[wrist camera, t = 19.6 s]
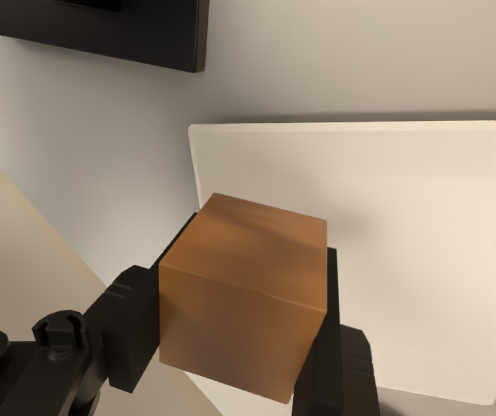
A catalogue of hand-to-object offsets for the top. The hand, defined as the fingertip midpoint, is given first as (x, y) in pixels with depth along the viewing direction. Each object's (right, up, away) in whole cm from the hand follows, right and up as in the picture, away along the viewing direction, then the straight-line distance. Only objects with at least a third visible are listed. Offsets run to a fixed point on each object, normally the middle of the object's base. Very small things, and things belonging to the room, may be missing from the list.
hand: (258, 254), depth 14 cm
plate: (+6, -1, +6) cm, 9 cm away
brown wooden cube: (0, 0, 0) cm, 0 cm away
